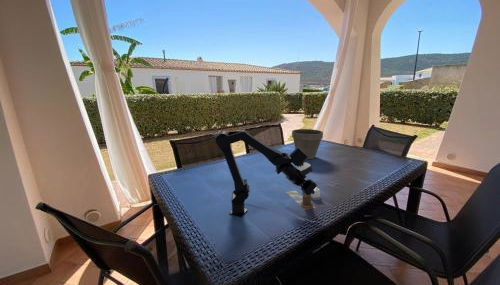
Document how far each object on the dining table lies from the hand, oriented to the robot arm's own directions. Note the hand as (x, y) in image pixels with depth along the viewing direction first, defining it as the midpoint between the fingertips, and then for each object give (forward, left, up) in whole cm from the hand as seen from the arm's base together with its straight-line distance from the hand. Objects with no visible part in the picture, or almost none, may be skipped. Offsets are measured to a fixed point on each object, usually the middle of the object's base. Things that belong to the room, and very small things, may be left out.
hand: (310, 190), depth 107 cm
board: (+4, +6, -9) cm, 11 cm away
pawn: (-1, +1, -8) cm, 8 cm away
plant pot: (+78, +19, -9) cm, 81 cm away
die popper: (+10, 0, -9) cm, 13 cm away
